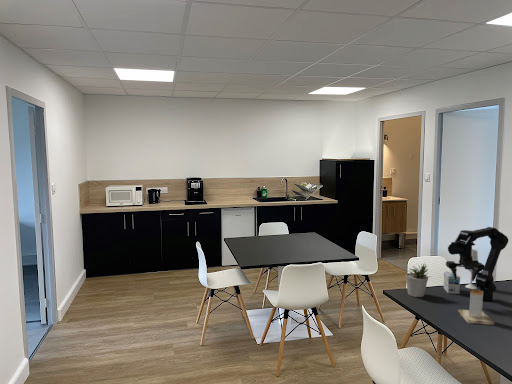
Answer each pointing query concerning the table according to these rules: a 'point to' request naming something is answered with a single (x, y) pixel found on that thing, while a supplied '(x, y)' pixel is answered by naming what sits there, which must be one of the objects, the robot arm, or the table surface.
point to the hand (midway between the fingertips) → (464, 280)
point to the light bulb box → (451, 283)
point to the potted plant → (417, 281)
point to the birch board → (482, 320)
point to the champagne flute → (474, 258)
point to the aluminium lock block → (476, 303)
